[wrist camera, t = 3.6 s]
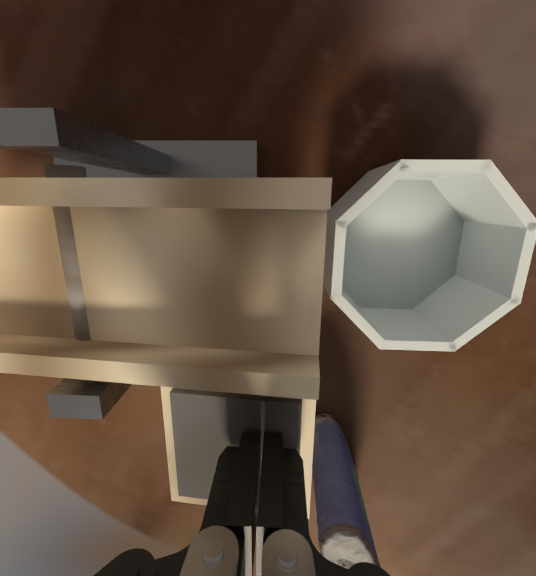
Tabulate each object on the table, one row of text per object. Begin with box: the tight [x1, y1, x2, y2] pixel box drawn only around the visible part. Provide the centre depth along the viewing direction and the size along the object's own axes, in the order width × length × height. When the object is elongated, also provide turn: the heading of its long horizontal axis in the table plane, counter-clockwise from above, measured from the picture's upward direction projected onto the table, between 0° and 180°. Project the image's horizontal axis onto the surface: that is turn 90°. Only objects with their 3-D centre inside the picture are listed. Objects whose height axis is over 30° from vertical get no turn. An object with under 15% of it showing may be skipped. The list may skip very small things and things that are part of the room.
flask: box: [312, 413, 380, 569], centre depth 19 cm, size 9×3×11 cm, turn 15°
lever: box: [0, 165, 332, 519], centre depth 12 cm, size 18×14×3 cm
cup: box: [323, 159, 536, 351], centre depth 17 cm, size 9×9×6 cm
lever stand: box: [0, 108, 258, 419], centre depth 15 cm, size 12×12×11 cm
